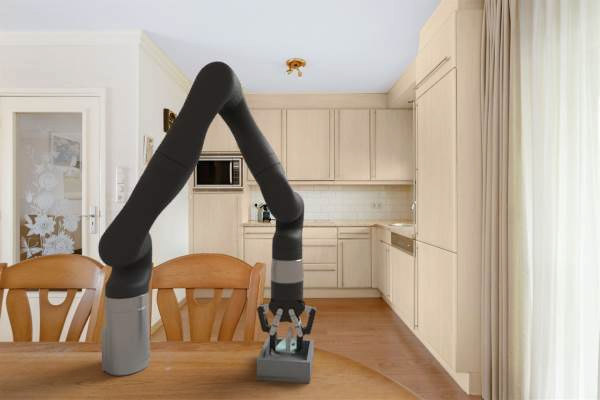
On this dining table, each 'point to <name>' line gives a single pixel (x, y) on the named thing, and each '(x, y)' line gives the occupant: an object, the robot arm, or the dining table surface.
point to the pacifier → (286, 346)
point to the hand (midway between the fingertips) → (286, 349)
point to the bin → (286, 363)
